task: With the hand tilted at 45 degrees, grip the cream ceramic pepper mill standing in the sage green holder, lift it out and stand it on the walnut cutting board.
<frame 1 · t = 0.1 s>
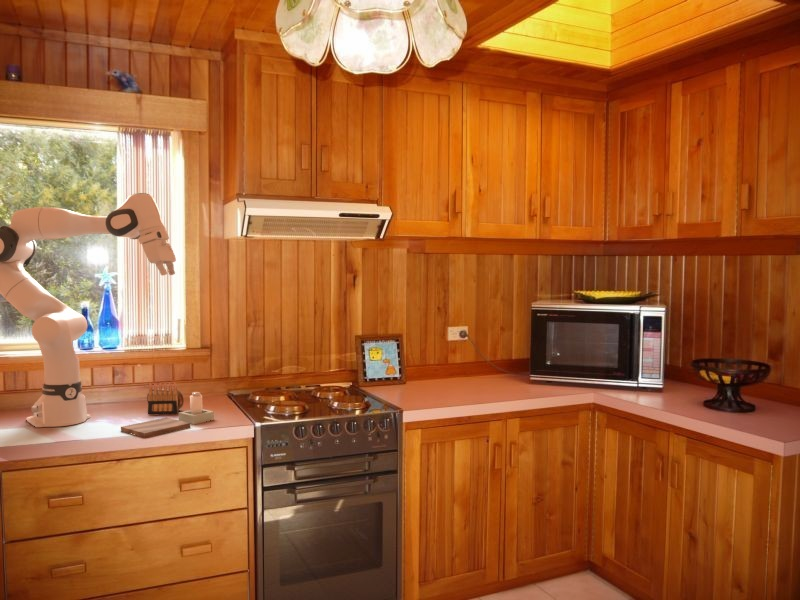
hand: (168, 274, 228), 52 cm above the worktop, tool tilted 20°, fingers open, 8 cm apart
pepper mill: (196, 406, 231), in the holder
cutting board: (156, 429, 219), on the worktop
holder: (196, 420, 231), on the worktop
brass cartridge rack: (165, 410, 248), on the worktop
ammunition clip: (163, 414, 242), on the worktop
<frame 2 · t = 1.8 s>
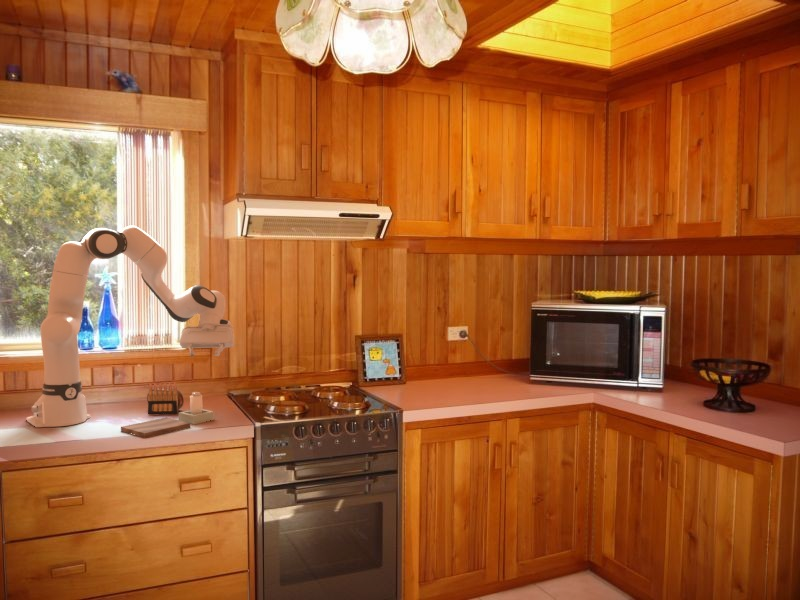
hand: (204, 355, 243), 22 cm above the worktop, tool tilted 45°, fingers open, 8 cm apart
nothing on the worktop moved.
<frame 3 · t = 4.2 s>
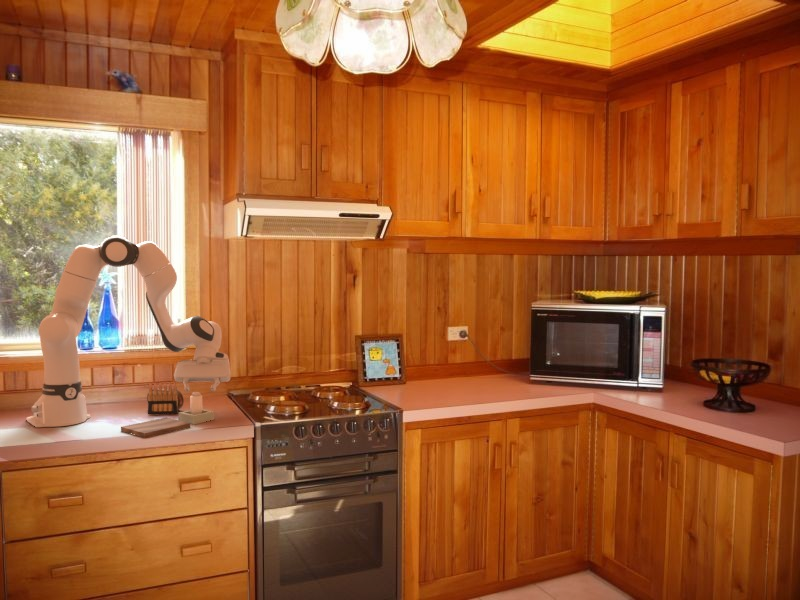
hand: (199, 390, 236), 10 cm above the worktop, tool tilted 45°, fingers open, 8 cm apart
nothing on the worktop moved.
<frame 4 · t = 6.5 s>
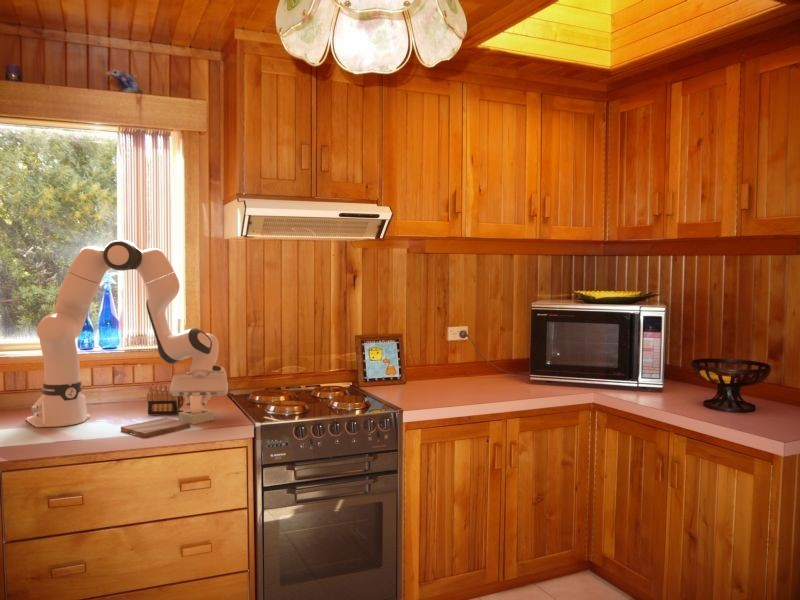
hand: (195, 404, 230), 6 cm above the worktop, tool tilted 45°, fingers closed on pepper mill, 4 cm apart
pepper mill: (196, 406, 231), in the holder, touching gripper
everything else where it was.
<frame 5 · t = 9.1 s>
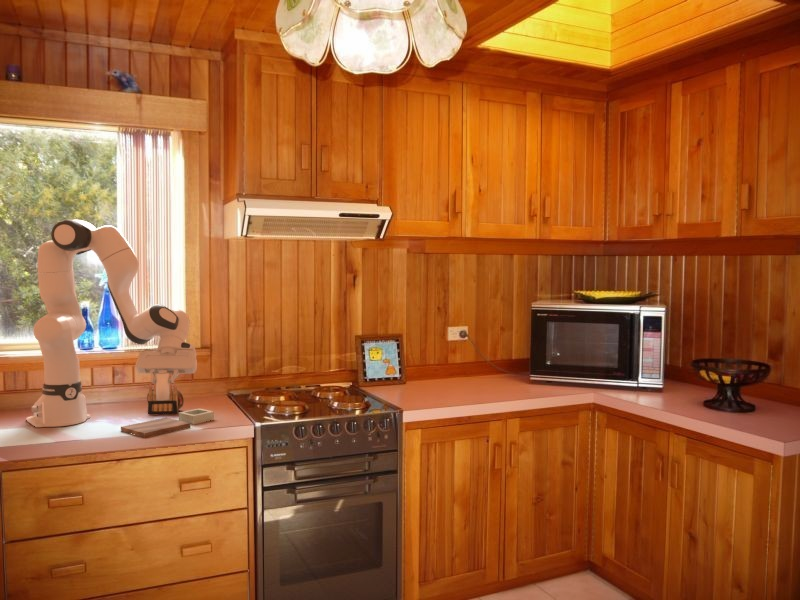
hand: (162, 382, 220), 16 cm above the worktop, tool tilted 45°, fingers closed on pepper mill, 4 cm apart
pepper mill: (162, 384, 221), point 15 cm above the worktop, touching gripper
everything else where it was.
when the fingers open (8 cm above the worktop, at t = 11.6 s): pepper mill stays where it is, resting on cutting board.
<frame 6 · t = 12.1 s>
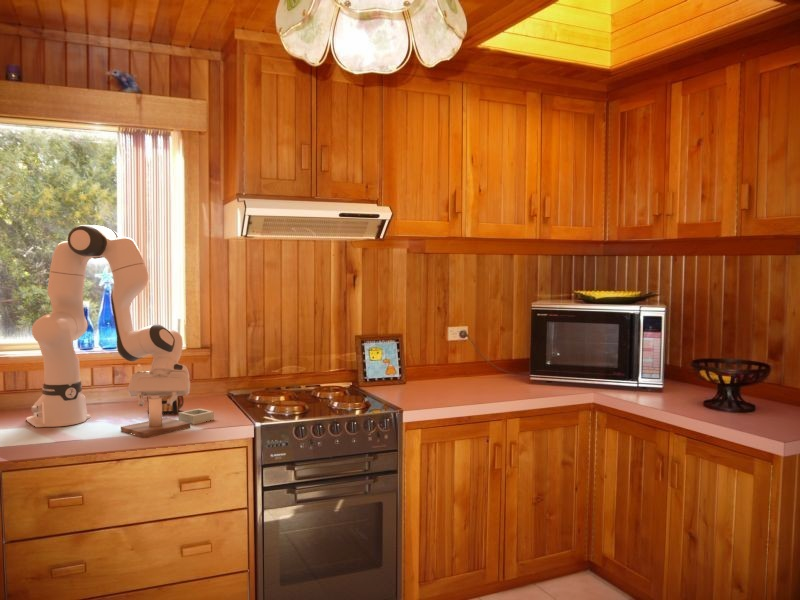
hand: (154, 405, 218), 8 cm above the worktop, tool tilted 45°, fingers open, 8 cm apart
pepper mill: (155, 410, 218), on the cutting board, point 6 cm above the worktop
everything else where it was.
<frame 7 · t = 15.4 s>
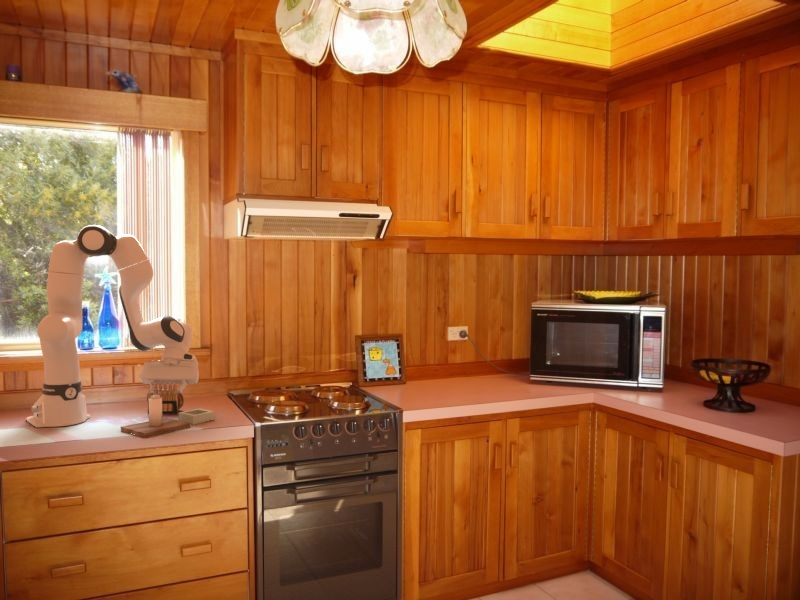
hand: (165, 392, 230), 10 cm above the worktop, tool tilted 45°, fingers open, 8 cm apart
nothing on the worktop moved.
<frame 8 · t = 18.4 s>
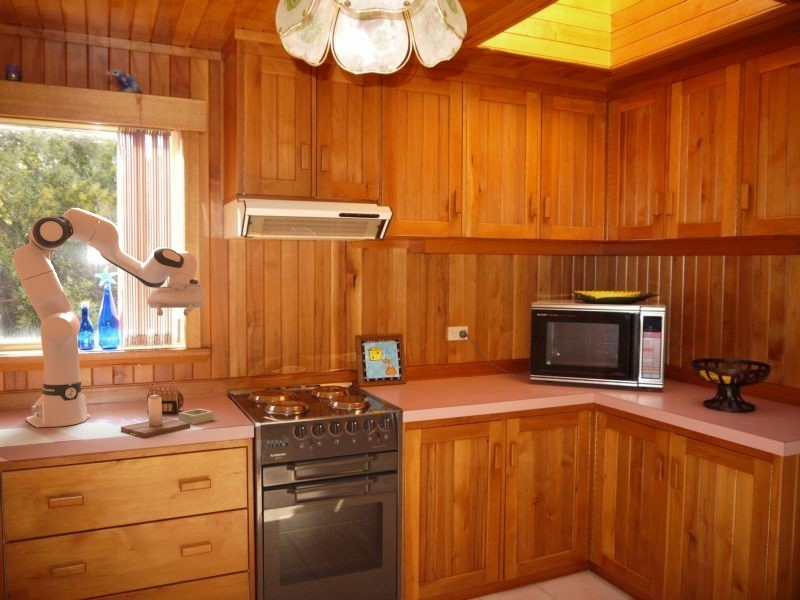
hand: (172, 314, 237), 37 cm above the worktop, tool tilted 45°, fingers open, 8 cm apart
nothing on the worktop moved.
at the end: pepper mill inside the target area on the cutting board (0.1 cm from its centre), point 6.6 cm above the cutting board's base; pepper mill tilted 2°; the gripper is holding nothing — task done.
